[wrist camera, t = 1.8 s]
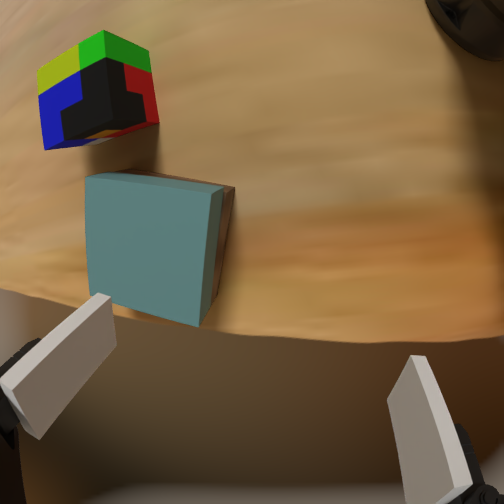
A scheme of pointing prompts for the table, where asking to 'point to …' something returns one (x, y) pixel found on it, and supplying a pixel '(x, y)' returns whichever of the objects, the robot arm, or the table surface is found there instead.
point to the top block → (152, 243)
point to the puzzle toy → (96, 92)
